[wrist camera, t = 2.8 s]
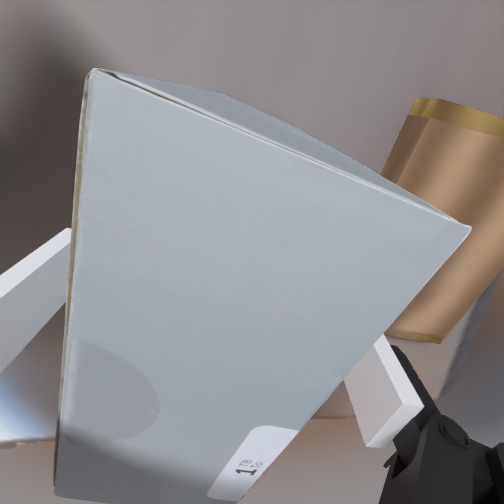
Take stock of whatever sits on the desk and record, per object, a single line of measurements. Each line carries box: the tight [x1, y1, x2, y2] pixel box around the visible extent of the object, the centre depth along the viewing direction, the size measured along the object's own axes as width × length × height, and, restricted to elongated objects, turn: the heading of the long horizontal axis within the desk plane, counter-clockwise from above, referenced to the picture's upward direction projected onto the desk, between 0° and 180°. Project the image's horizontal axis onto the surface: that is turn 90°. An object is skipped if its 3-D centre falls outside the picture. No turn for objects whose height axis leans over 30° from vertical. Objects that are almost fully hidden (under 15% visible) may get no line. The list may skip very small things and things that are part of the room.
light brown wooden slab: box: [380, 98, 504, 344], centre depth 26 cm, size 14×22×3 cm, turn 167°
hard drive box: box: [53, 68, 472, 504], centre depth 16 cm, size 16×8×20 cm, turn 158°
